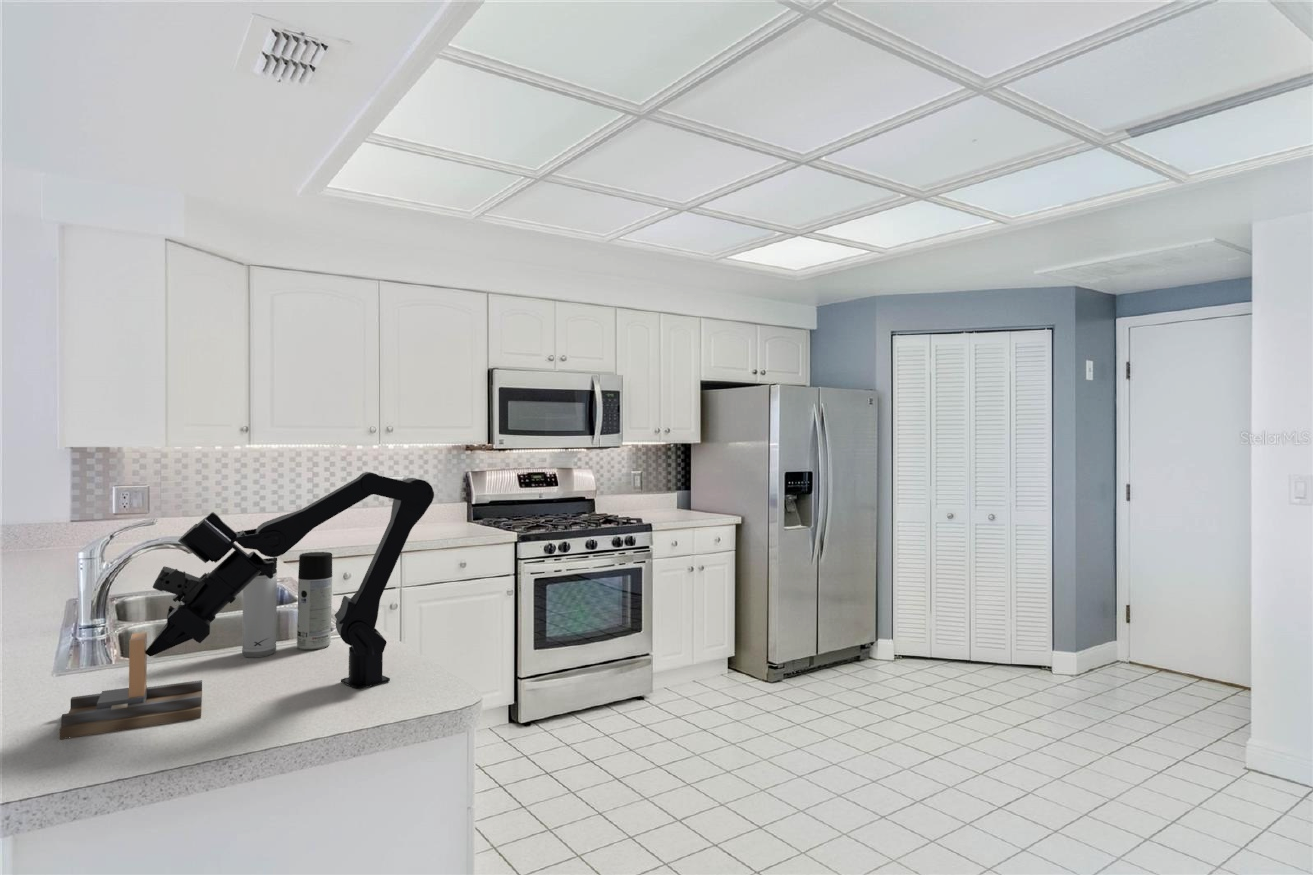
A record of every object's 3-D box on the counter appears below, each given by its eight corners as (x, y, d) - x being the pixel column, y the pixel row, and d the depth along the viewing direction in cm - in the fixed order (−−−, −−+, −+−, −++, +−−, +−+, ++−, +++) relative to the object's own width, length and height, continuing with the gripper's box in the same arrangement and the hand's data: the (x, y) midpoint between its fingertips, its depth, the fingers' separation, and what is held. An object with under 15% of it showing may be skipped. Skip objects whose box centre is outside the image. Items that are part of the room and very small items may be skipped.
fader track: (202, 695, 131) (202, 676, 131) (200, 717, 121) (201, 697, 121) (72, 713, 122) (73, 693, 122) (59, 739, 112) (59, 717, 112)
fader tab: (146, 697, 125) (147, 631, 125) (143, 709, 120) (144, 640, 120) (102, 703, 122) (102, 635, 122) (96, 716, 117) (97, 645, 116)
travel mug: (263, 659, 153) (264, 560, 153) (234, 656, 154) (236, 559, 154) (284, 650, 159) (285, 555, 159) (256, 648, 160) (258, 554, 160)
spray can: (303, 642, 165) (305, 551, 165) (335, 641, 166) (336, 551, 166) (291, 650, 159) (293, 556, 159) (325, 650, 159) (326, 556, 159)
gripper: (189, 542, 133) (112, 611, 128) (186, 557, 117) (97, 637, 111) (239, 583, 137) (166, 651, 132) (243, 603, 121) (159, 682, 115)
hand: (147, 654), depth 122 cm, fingers closed, pressing on fader tab
